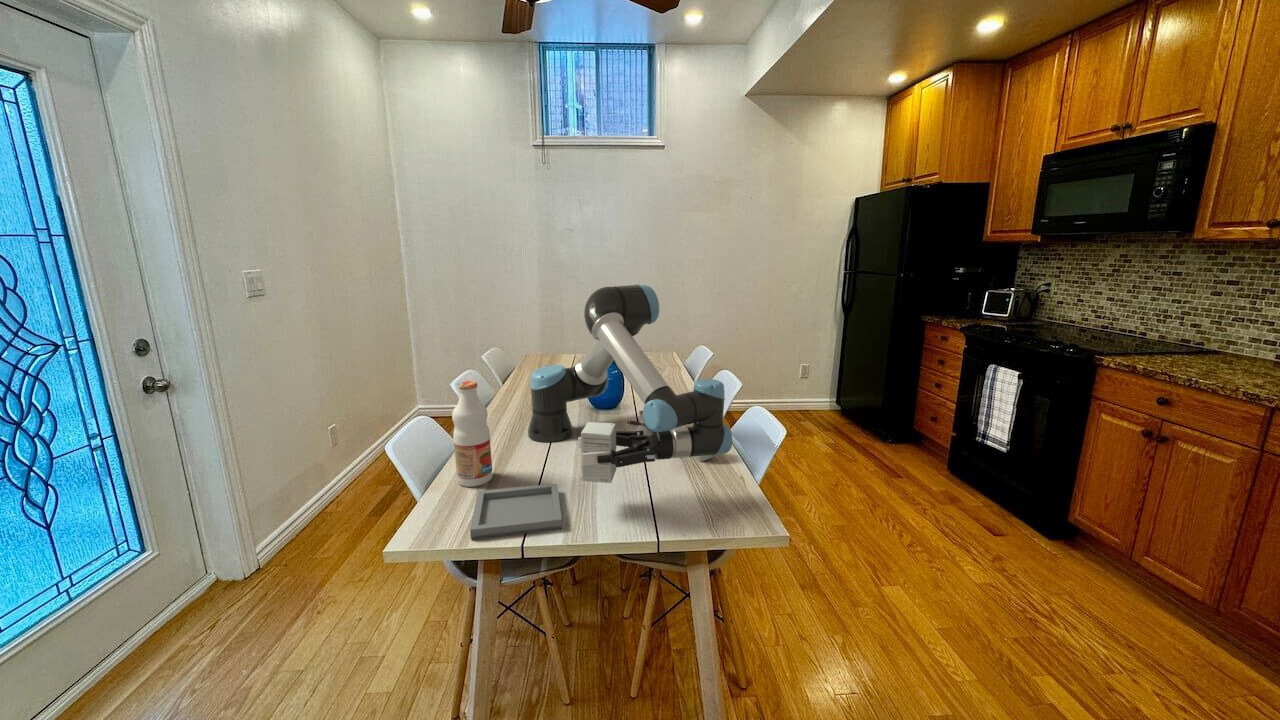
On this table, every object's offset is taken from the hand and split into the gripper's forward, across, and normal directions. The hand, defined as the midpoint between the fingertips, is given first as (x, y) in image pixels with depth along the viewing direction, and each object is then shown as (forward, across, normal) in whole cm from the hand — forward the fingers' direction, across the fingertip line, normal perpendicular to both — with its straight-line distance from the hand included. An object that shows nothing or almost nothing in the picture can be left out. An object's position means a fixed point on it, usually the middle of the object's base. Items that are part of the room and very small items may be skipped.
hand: (580, 450), depth 120 cm
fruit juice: (+27, +22, -16) cm, 39 cm away
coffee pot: (-22, +27, -16) cm, 38 cm away
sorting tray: (+15, +1, -16) cm, 22 cm away
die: (-40, +22, -16) cm, 48 cm away
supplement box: (-5, 0, -7) cm, 9 cm away
